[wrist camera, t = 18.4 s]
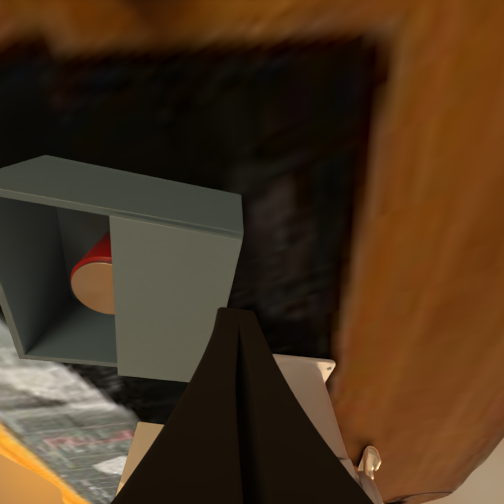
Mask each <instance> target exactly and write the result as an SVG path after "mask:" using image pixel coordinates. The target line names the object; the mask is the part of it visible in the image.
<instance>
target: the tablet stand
mask: <svg viewBox="0 0 504 504" xmlns="http://www.w3.org/2000/svg"><path fill="white" fill-rule="evenodd" d="M380 463H381V460H380V456H379V453H378V451H377V449H376V448H375V447H373V446H367V447H366V449H365V450H364V453H363V457H362V459H361V462H360V465H359V466H358V468H357V472H359V471H364V472H365V473H366V475H368V476H369V477H370V478H372V479H373V478H374V475H373V471H372V470H373V468H374V470H375V471H376V470H378V467H379V465H380ZM356 476H357V475H356ZM357 480H358V478H357ZM358 482H359V481H358Z"/></svg>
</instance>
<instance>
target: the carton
mask: <svg viewBox="0 0 504 504" xmlns="http://www.w3.org/2000/svg"><path fill="white" fill-rule="evenodd" d="M112 213H115V214H120V215H126V216H131V217H136V218H142V219H147V220H152V221H158V222H163V223H168V224H174V225H179V226H184V227H190V228H195V229H200V230H206V231H211V232H216V233H222V234H227V235H232V236H238V237H242V238H243V234H244V230H243V215H242V200H241V195H239V194H234V193H229V192H224V191H219V190H215V189H210V188H205V187H200V186H195V185H190V184H185V183H180V182H175V181H171V180H166V179H161V178H156V177H151V176H146V175H141V174H136V173H131V172H127V171H122V170H117V169H112V168H107V167H102V166H97V165H92V164H87V163H82V162H78V161H73V160H68V159H63V158H58V157H53V156H48V155H44V156H40V157H37V158H34V159H30V160H27V161H24V162H20V163H17V164H14V165H10V166H7V167H4V168H0V304H1V307H2V310H3V313H4V316H5V318H6V321H7V324H8V327H9V330H10V333H11V336H12V338H13V341H14V344H15V347H16V350H17V353H18V356H19V358H20V359H31V360H43V361H55V362H66V363H78V364H90V365H102V366H114V367H118V364H117V346H116V328H115V314H105V313H101V312H98V311H95V310H93V309H91V308H89V307H87V306H86V305H84V304H83V303H82V302H81V301H80V300H79V299H78V298H77V297H76V296H75V294H74V292H73V290H72V286H71V273H72V270H73V268H74V267H75V266H76V264H77V263H78V262H79V261H80V260H81V259H82V258H83V257H84V256H85V255H86V254H87V253H88V252H89V251H90V250H91V249H92V248H93V247H94V245H95V244H96V243H97V242H98V241H99V240H100V239H101V238H102V237H103V236H104V235H105V234H106V233H107V232H108V231H109V230H110V219H109V216H110V215H111V214H112Z"/></svg>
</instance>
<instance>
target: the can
mask: <svg viewBox="0 0 504 504" xmlns="http://www.w3.org/2000/svg"><path fill="white" fill-rule="evenodd" d="M71 286H72V290H73V292H74V294H75V296H76V297H77V298H78V299H79V300H80V301H81V302H82V303H83V304H84V305H86V306H87V307H89V308H91V309H93V310H95V311H98V312H101V313H105V314H115V310H114V292H113V273H112V255H111V237H110V230H109V231H108V232H107V233H106V234H105V235H104V236H103V237H102V238H101V239H100V240H99V241H98V242H97V243H96V244H95V245H94V247H93V248H92V249H91V250H90V251H89V252H88V253H87V254H86V255H85V256H84V257H83V258H82V259H81V260H80V261H79V262H78V263H77V264H76V266H75V267H74V268H73V270H72V273H71Z"/></svg>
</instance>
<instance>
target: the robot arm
mask: <svg viewBox="0 0 504 504" xmlns="http://www.w3.org/2000/svg"><path fill="white" fill-rule="evenodd" d="M335 365H336V364H335V362H334V360H329V359H319V358H309V357H299V356H290V355H280V354H272V353H271V351H270V348H269V346H268V344H267V342H266V340H265V337H264V335H263V333H262V330H261V328H260V326H259V323H258V321H257V318H256V315H255V313H254V312H253V311H250V310H242V309H234V308H227V307H220V308H218V310H217V314H216V319H215V323H214V328H213V332H212V335H211V337H210V340H209V342H208V344H207V347H206V349H205V352H204V354H203V356H202V358H201V360H200V362H199V364H198V366H197V368H196V370H195V372H194V374H193V376H192V378H191V380H190V382H189V384H188V386H187V388H186V389H185V391H184V393H183V395H182V397H181V398H180V400H179V402H178V403H177V405H176V407H175V408H174V410H173V412H172V413H171V415H170V417H169V418H168V420H167V421H166V423H165V425H164V426H163V428H162V429H161V431H160V433H159V434H158V436H157V437H156V439H155V440H154V442H153V443H152V445H151V446H150V448H149V449H148V451H147V452H146V454H145V455H144V457H143V458H142V460H141V461H140V462H139V464H138V465H137V467H136V468H135V470H134V471H133V473H132V474H131V475H130V477H129V478H128V480H127V481H126V483H125V484H124V486H123V487H122V488H121V490H120V491H119V493H118V494H117V495H116V497H115V498H114V500H113V501H112V502H111V504H384V503H383V500H382V498H381V495H380V493H379V491H378V488H377V486H376V484H375V482H374V480H373V479H372V478H370V477H369V476H368V475H366V473H365V472H364V471H359V472H357V476H356V473H355V470H354V467H353V464H352V461H351V459H349V458H348V455H347V452H346V449H345V446H344V442H343V439H342V436H341V433H340V430H339V427H338V423H337V420H336V417H335V414H334V411H333V408H332V404H331V401H330V398H329V395H328V392H327V389H326V386H325V381H326V380H327V378H328V377H329V375H330V373H331V372H332V370H333V368H334V367H335ZM357 478H358V480H357ZM358 481H359V482H358Z"/></svg>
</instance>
